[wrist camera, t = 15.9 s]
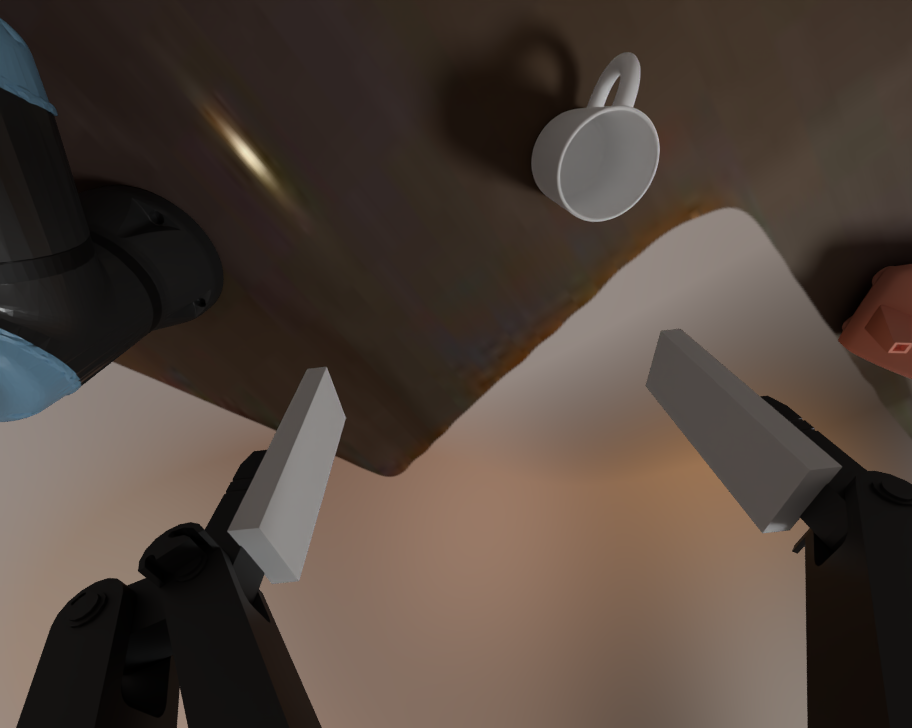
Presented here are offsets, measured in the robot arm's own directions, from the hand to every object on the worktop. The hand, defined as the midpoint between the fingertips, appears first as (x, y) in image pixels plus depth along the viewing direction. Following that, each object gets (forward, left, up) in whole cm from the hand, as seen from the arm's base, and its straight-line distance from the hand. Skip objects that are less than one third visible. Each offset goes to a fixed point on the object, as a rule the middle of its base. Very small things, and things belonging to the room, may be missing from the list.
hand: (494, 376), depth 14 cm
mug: (+13, +6, -31) cm, 34 cm away
